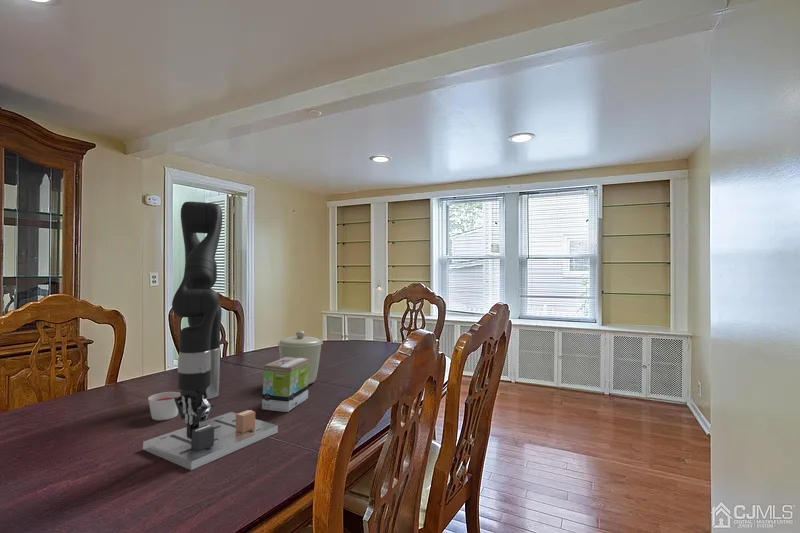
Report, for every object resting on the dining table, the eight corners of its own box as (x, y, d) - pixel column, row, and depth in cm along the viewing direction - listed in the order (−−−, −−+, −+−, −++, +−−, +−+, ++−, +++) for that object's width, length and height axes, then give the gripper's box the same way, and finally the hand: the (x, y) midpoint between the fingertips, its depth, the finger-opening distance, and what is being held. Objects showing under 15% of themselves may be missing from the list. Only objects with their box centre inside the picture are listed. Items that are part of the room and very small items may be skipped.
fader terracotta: (235, 430, 112) (236, 413, 112) (247, 425, 115) (248, 409, 115) (243, 433, 110) (243, 415, 110) (255, 428, 114) (255, 411, 114)
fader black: (191, 448, 100) (191, 429, 100) (206, 442, 104) (206, 424, 104) (198, 451, 99) (199, 431, 99) (213, 445, 102) (214, 426, 102)
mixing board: (142, 449, 104) (143, 441, 104) (231, 418, 126) (231, 411, 126) (191, 470, 94) (191, 461, 94) (277, 432, 116) (277, 425, 116)
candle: (187, 414, 129) (188, 394, 129) (160, 424, 121) (161, 402, 121) (168, 410, 133) (169, 390, 133) (141, 418, 124) (141, 397, 125)
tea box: (289, 412, 132) (290, 367, 132) (261, 410, 134) (262, 364, 134) (309, 398, 147) (310, 357, 147) (283, 396, 149) (284, 355, 149)
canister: (298, 391, 155) (300, 335, 155) (266, 383, 164) (267, 331, 165) (331, 381, 170) (332, 330, 170) (299, 374, 180) (300, 326, 180)
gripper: (164, 367, 103) (162, 436, 103) (196, 375, 97) (194, 449, 97) (192, 362, 110) (190, 427, 110) (224, 369, 103) (222, 438, 103)
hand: (192, 437), depth 103 cm, fingers closed
